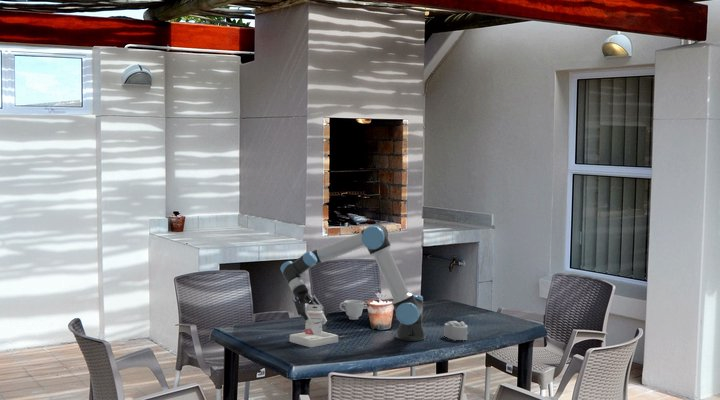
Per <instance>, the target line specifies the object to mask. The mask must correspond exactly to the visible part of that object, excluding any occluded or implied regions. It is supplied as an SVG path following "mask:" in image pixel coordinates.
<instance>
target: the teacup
mask: <svg viewBox="0 0 720 400" xmlns="http://www.w3.org/2000/svg"><path fill="white" fill-rule="evenodd" d="M364 304H365V301H364V300H360V299H346V300H344V301H343V302H340V303H339V308H340V310H341V311H342V312H343V311H344V312H345V313H346V316H348V319H349V320H351V321H352V320H353V321H356V320H359V319H360V318H359V317H361V316H362V314H363V310H364V309H363V308H364ZM342 305H343V306H344V307H345V308H343V307H342Z"/></svg>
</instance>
